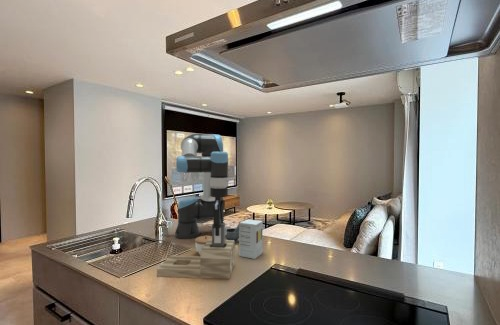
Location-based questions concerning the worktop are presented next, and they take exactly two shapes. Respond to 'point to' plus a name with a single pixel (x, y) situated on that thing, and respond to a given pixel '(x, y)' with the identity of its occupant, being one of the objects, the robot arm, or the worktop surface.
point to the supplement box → (250, 238)
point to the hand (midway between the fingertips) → (218, 240)
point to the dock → (201, 263)
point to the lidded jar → (201, 242)
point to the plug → (223, 233)
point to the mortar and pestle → (233, 234)
